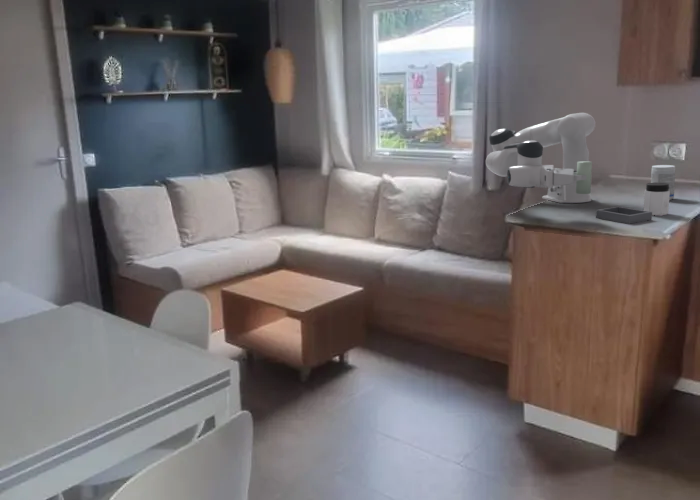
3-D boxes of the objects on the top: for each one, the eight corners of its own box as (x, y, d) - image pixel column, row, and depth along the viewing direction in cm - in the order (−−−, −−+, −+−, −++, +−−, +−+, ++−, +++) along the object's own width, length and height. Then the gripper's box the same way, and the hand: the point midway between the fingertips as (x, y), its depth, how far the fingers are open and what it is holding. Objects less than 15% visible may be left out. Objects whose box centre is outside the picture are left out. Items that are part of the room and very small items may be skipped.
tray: (595, 217, 257) (596, 210, 256) (617, 214, 262) (618, 206, 261) (629, 223, 243) (629, 215, 242) (651, 219, 248) (652, 211, 247)
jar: (658, 216, 253) (660, 186, 250) (639, 214, 260) (641, 184, 257) (672, 213, 258) (674, 183, 255) (652, 211, 265) (654, 181, 262)
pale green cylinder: (572, 192, 255) (574, 162, 252) (582, 191, 257) (584, 160, 254) (583, 194, 250) (584, 163, 247) (593, 193, 252) (595, 162, 250)
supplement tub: (678, 198, 289) (680, 165, 285) (666, 201, 284) (668, 167, 280) (657, 196, 297) (659, 164, 293) (645, 199, 291) (647, 166, 288)
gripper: (549, 180, 267) (585, 180, 262) (547, 187, 248) (586, 188, 243) (550, 165, 265) (586, 164, 261) (548, 171, 246) (587, 171, 242)
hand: (586, 176), depth 252 cm, fingers closed on pale green cylinder, 5 cm apart
